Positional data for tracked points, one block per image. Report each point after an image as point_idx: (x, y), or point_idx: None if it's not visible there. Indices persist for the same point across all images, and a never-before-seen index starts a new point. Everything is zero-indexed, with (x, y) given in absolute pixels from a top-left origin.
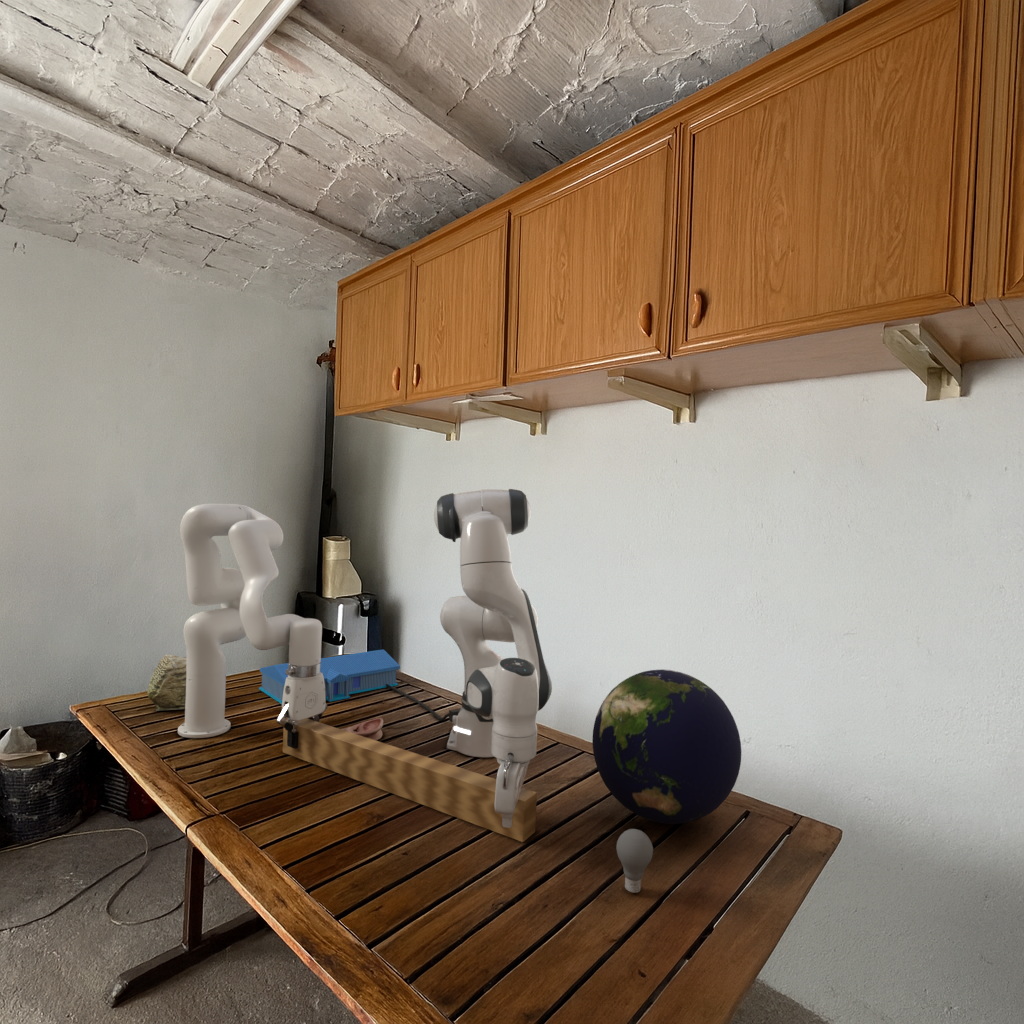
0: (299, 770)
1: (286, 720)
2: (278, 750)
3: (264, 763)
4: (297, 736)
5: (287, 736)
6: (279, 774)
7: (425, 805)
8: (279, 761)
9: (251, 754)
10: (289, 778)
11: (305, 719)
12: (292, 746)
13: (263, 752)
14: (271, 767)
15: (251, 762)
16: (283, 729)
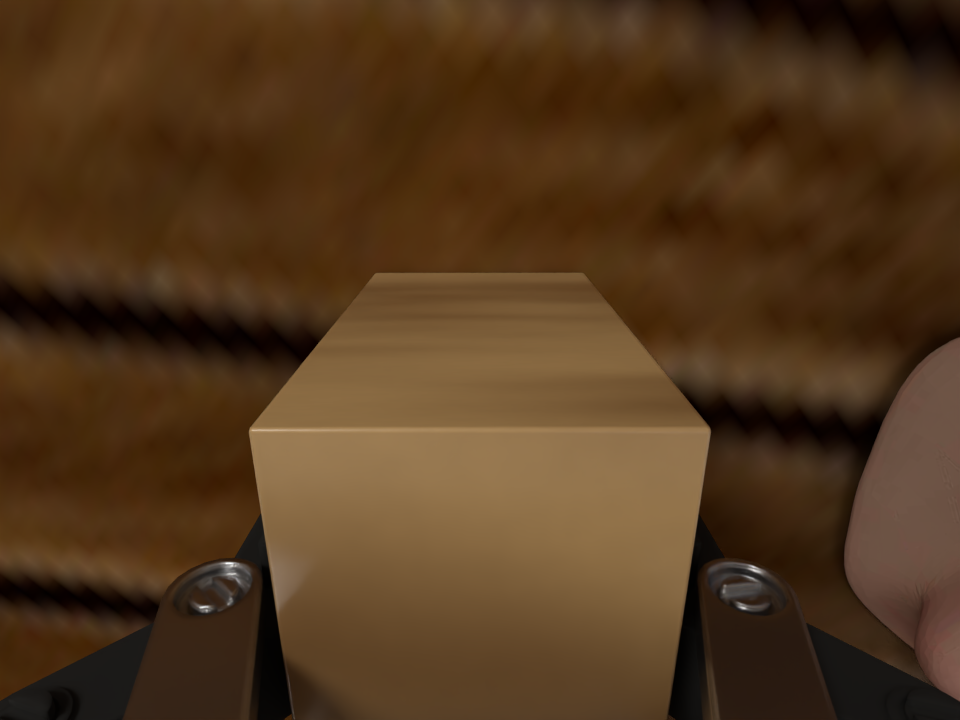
0: None
1: (314, 446)
2: (381, 189)
3: (103, 352)
4: None
5: (250, 535)
6: (102, 604)
7: None
8: (232, 420)
9: (97, 32)
10: None
11: (611, 670)
12: None
13: (231, 98)
14: (113, 466)
15: (9, 233)
16: (306, 358)
